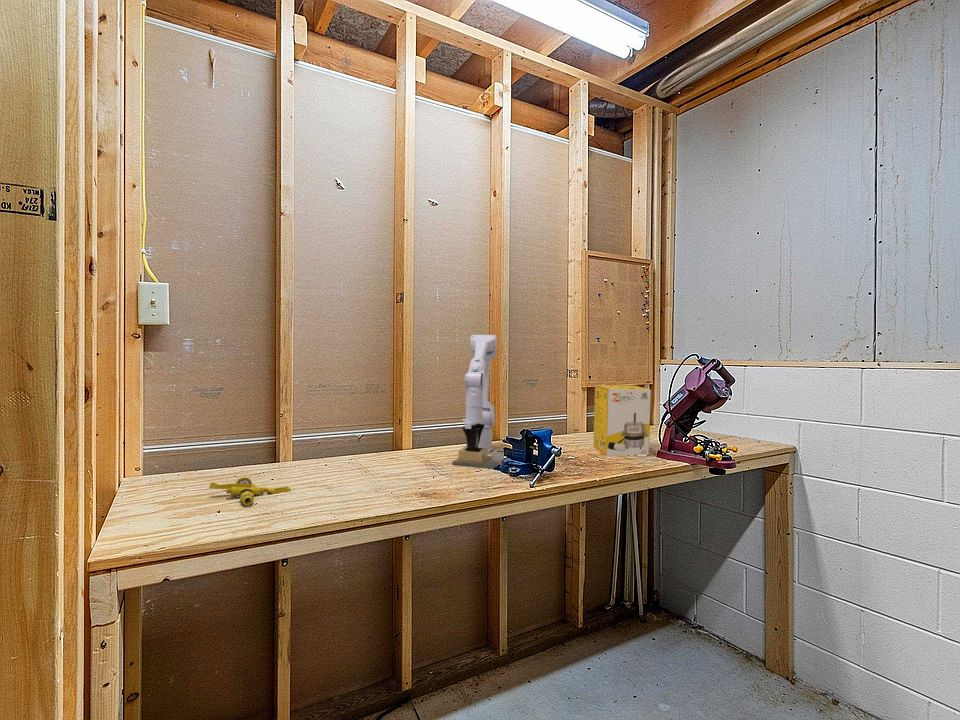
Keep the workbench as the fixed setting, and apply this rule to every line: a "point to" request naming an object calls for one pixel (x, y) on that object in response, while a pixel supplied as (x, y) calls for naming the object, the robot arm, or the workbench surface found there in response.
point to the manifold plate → (479, 458)
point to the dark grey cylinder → (473, 448)
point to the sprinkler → (247, 489)
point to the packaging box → (622, 420)
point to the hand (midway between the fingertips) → (473, 446)
